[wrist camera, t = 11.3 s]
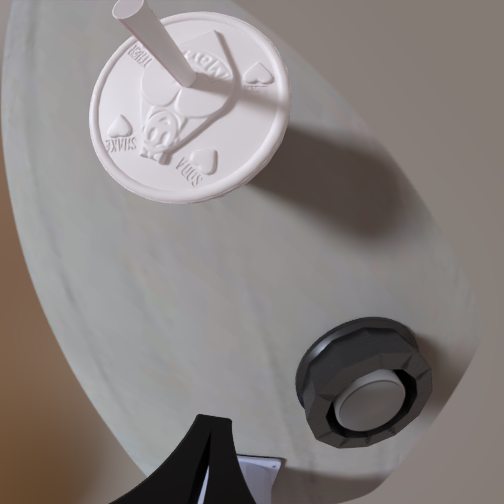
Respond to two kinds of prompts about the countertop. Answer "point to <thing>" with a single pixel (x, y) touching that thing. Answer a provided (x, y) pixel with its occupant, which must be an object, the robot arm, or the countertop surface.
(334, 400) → the cap
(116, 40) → the countertop surface
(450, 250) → the countertop surface
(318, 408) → the dark grey pot
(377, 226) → the countertop surface
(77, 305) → the countertop surface
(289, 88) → the smoothie
